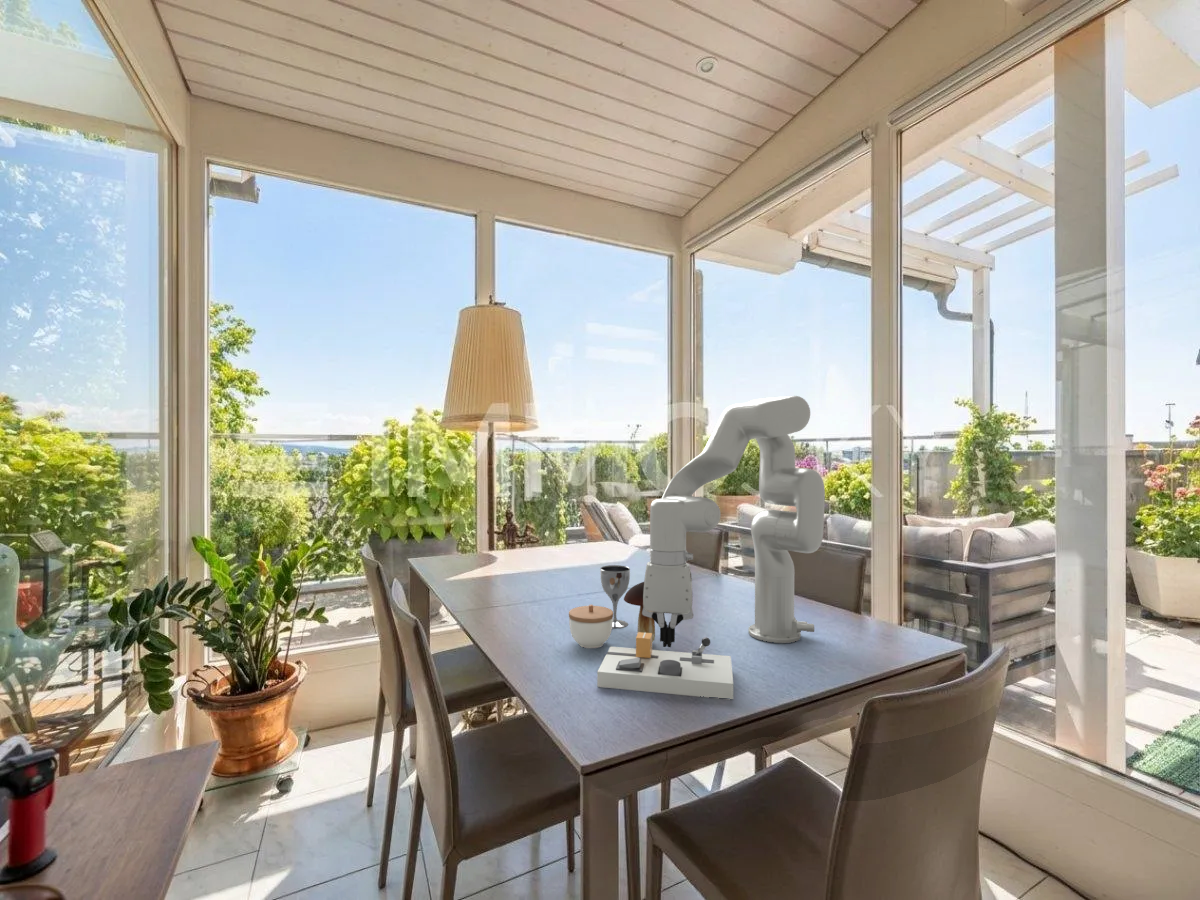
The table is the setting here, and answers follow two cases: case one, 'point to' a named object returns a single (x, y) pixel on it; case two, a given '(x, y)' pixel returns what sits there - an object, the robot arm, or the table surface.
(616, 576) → the wine glass
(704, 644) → the lever
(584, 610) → the lidded jar
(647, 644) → the slider
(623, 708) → the table surface
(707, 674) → the panel
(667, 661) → the button
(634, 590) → the decorative mushroom
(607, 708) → the table surface
